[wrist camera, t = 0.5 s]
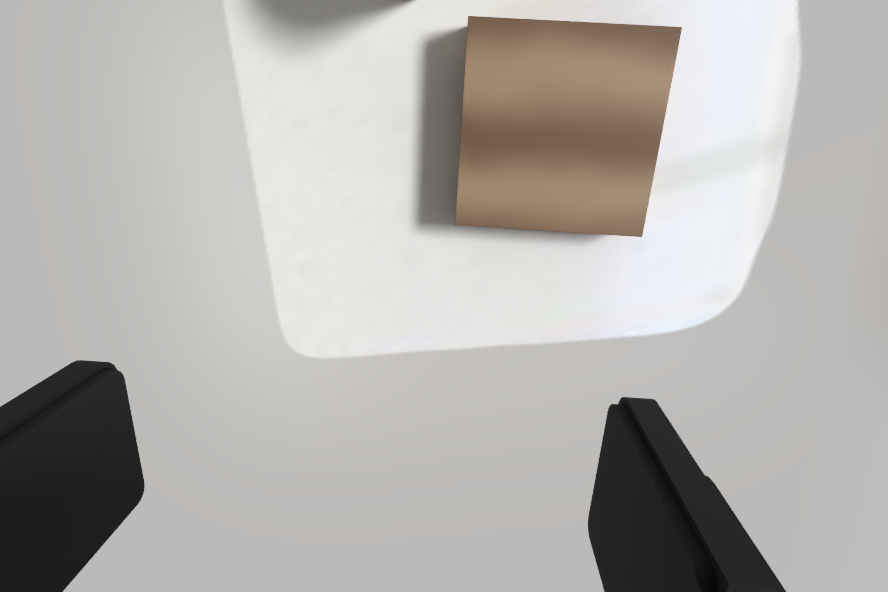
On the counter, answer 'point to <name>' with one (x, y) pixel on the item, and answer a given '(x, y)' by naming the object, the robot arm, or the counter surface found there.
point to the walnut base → (562, 124)
